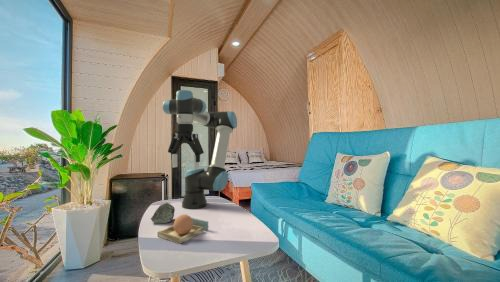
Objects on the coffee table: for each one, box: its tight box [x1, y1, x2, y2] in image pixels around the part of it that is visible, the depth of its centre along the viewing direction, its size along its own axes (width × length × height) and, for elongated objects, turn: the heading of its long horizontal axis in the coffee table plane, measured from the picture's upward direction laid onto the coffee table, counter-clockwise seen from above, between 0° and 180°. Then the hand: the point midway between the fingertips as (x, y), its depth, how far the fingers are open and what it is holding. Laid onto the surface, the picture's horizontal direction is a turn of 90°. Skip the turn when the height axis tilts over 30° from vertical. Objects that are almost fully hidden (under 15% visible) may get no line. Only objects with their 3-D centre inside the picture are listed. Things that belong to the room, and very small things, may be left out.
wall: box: [191, 217, 209, 232], centre depth 102 cm, size 1×17×4 cm, turn 62°
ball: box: [173, 214, 193, 234], centre depth 94 cm, size 8×8×8 cm
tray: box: [157, 224, 204, 245], centre depth 94 cm, size 13×13×2 cm
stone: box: [150, 202, 176, 224], centre depth 110 cm, size 10×10×10 cm
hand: (185, 168), depth 104 cm, fingers open, 13 cm apart
